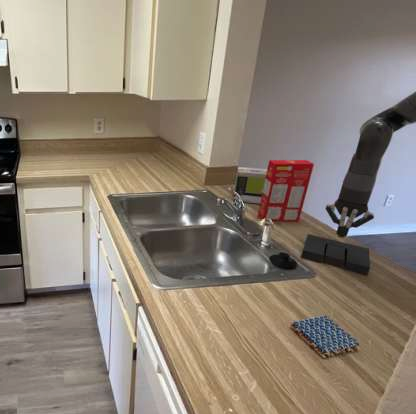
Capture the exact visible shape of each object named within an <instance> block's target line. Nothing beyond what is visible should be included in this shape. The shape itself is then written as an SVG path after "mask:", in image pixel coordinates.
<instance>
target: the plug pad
mask: <svg viewBox="0 0 416 414" xmlns="http://www.w3.org/2000/svg"><path fill="white" fill-rule="evenodd" d="M344 263H345V248H341V247H337V246H333V245H329V244H328V245H327V248H326V251H324V256H323V261H322V264H325V265H329V266H333V267H337V268H340V269H342V268H343V266H344Z"/></svg>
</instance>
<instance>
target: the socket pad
mask: <svg viewBox="0 0 416 414" xmlns="http://www.w3.org/2000/svg"><path fill="white" fill-rule="evenodd" d="M328 244H329V245H333V246H337V247H341V248H345V257H344V263H343V270H345V271H349V272H352V273H357V274H359V275H364V276H368V274H369V273H370V269H371V258H370V248H368V247H364V246H360V245H355V244H351V243H347V242H344V241H343V242H342V241H339V240H336V239H335V240H334V239H330V238H326V237H323V236H319V235H314V234H310V233H309V234H307V236H306V238H305V241H304V244H303V248H302V252H301V255H300V258H301V259H305V260H309V261H311V262H316V263H320V264H322V263H323V260H324V256H325V251H326V248H327V245H328Z"/></svg>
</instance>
